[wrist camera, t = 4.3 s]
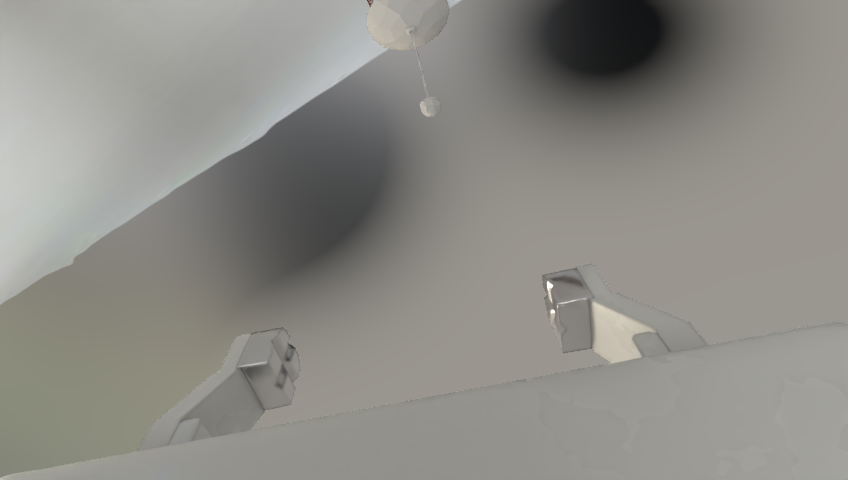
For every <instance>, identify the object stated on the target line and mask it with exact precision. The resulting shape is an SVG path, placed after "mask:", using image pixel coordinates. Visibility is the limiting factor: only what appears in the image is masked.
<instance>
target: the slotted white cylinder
mask: <svg viewBox="0 0 848 480" xmlns="http://www.w3.org/2000/svg"><path fill="white" fill-rule="evenodd" d="M367 1H368V3H369V5H370V9H369V11H368V13H367V29H368V30H369V32H370V34H371V36H372V38H373V39H374V40H375V41H376V42H378V43H379V44H380V45H382V46H383V47H386V48H390V49H395V50H407V49H413V48H414V49H415V53H416V57H417V60H418V64H419V68H420V72H421V76H422V80H423V84H424V88H425V92H426V96H427V98H426V99H424V100H423V101H422V102H421V103H420V108H421V111H422V113H423V114H424V115H425V116H427V117H431V116H435V115H437V114H438V113H439V112H440V110H441V104H440V100H439V99H438V98H435V97H429V94H428V90H427V86H426V82H425V79H424V75H423V71H422V67H421V64H420V59H419V55H418V51H417V47H419V46H422V45H424V44H427V43H428V42H429V41H431V40H432V39H433V38H435V37H436V36H438V35H439V33H440V32H441V30H442V29H443V27H444V26H445V24H446V23H447V19H448V15H449V6H448V2H447V0H367Z"/></svg>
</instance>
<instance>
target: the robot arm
mask: <svg viewBox="0 0 848 480" xmlns="http://www.w3.org/2000/svg"><path fill="white" fill-rule="evenodd" d="M542 281H543V287H544V289H545V292H546V294H547V295H546V297H545V305H546V310H547V315H548V318H549V321H550V324H551V326H552V328H554V329H555V331H556V338H557V341H558V343H559V345H560V347H561V350H562V352H563V353H568V352H574V351H580V350H587V349H593V351H595V352H596V353H598V354H599V355H601V356H602V357H603V358H605V359H606V360H608V361H609V362H611V363H609V364H604V365H598V366H593V367H588V368H582V369H577V370H571V371H566V372H561V373H555V374H550V375H545V376H539V377H534V378H529V379H523V380H518V381H512V382H507V383H502V384H496V385H491V386H486V387H480V388H475V389H470V390H464V391H459V392H453V393H448V394H443V395H437V396H432V397H427V398H421V399H416V400H410V401H405V402H400V403H394V404H389V405H384V406H379V407H373V408H368V409H362V410H357V411H351V412H346V413H341V414H336V415H330V416H324V417H320V418H314V419H308V420H303V421H298V422H292V423H287V424H282V425H276V426H271V427H265V428H260V429H255V430H250V429H251V428H252V427H253V426H254V424H255V423H256V422H257V420H259V418H260V417H261V416H262V415H263V413H264V411H265V410H269V409H274V408H278V407H283V406H288V405H291V402H292V399H293V395H294V391H295V386H294V384H293V382H294V381H295V380H296V379H297V378H298V377H299V372H300V359H299V355H298V352H297V350H296V348H295V347H293V346H292V345H290V344H289V340H290V335H289V334H288V332H287V330H286V329H285V328H283V327H282V328H276V329H271V330H266V331H260V332H254V333H249V334H244V335H239V336H237V337H236V338H235V339H234V341H233V344H232V346H231V348H230V350H229V352H228V354H227V356H226V358H225V360H224V362H223V364H222V367H221V369H220V371H219V372H215V373H213V374H212V375H211V376H210V377H209V378H208V379H206V380H205V381H204V382H203V383H201V384H200V385H199V386H198V387H197V388H195V389H194V390H193V391H192V392H190V393H189V394H188V395H187V396H186V397H185V398H183V399H182V400H181V401H180V402H178V403H177V404H176V405H175V406H174V407H172V408H171V409H170V410H169V411H168V412H166V413H165V414H164V415H163V416H162V417H160V418H159V419H158V420H157V421H156V422H154V423H153V424H152V425H151V426H150V428H149V430H148V432H147V433H146V435H145V437H144V439H143V441H142V442H141V444H140V446H139V448H138V449H137V451H136V452H132V453H127V454H121V455H115V456H110V457H104V458H99V459H94V460H88V461H83V462H78V463H72V464H67V465H62V466H56V467H51V468H45V469H40V470H34V471H28V472H22V473H15V474H11V475H8V476H4V477H1V478H0V480H848V319H845V320H840V321H834V322H829V323H823V324H818V325H813V326H807V327H802V328H797V329H792V330H786V331H781V332H775V333H770V334H765V335H760V336H754V337H749V338H744V339H738V340H733V341H728V342H723V343H717V344H712V345H708V344H707V342H706V341H705V340H704V339H703V338H702V336H701V335H700V334H699V333H698V331H697V330H696V329H695V328H694V327H693V325H692V324H691V323H690V322H687V321H685V320H682V319H680V318H677V317H675V316H672V315H670V314H668V313H665V312H663V311H660V310H658V309H656V308H653V307H651V306H648V305H646V304H643V303H641V302H638V301H636V300H634V299H631V298H629V297H626V296H624V295H622V294H619V293H615V294H613V293H612V291H611V290H610V288H609V287H608V285H607V284H606V283H605V281H604V279H603V278H602V276H601V275H600V273H599V272H598V271H597V269H596V267H595V266H594V265H593V264H588V265H584V266H580V267H576V268H573V269H568V270H563V271H559V272H554V273H550V274H545V275H542Z"/></svg>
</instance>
